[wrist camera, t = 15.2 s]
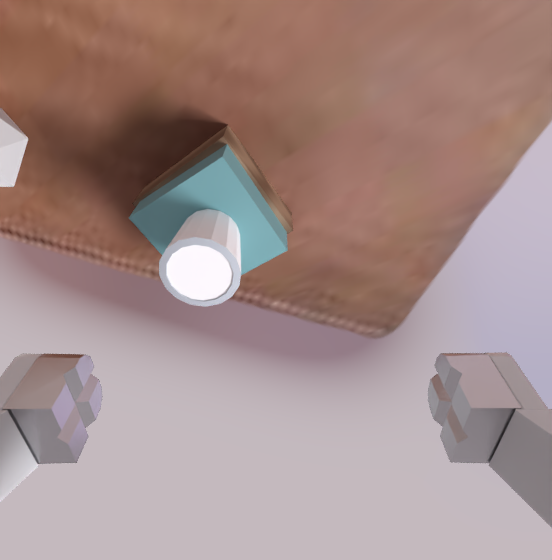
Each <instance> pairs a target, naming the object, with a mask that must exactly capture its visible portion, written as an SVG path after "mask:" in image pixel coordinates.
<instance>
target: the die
mask: <svg viewBox="0 0 552 560" xmlns="http://www.w3.org/2000/svg"><path fill="white" fill-rule="evenodd" d="M27 142H28V137H27V136H26V135H25V134H24V133H23V132H22V131H21V130H20V128H19V127H18V126H17V125H16V124H15V123H14V122H13V121H12V120H11V118H10V117H9V116H8V115H7V114H6V113H5V112H4V111H3V110H2V108H0V187H14V185H15V182H16V178H17V175H18V172H19V169H20V165H21V162H22V159H23V155H24V152H25V149H26V145H27Z"/></svg>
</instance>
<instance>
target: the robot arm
mask: <svg viewBox="0 0 552 560" xmlns="http://www.w3.org/2000/svg"><path fill="white" fill-rule="evenodd" d="M93 368H94V365H93V362H92V360H91V357H90V356H88V355H78V354H77V355H76V354H21V355H19V356H17V357H16V358H15V359H14V360H13V361H12V363H11V364H10V365H9V366H8V368H7V369H6V370H5V372H4V373H3V375H2V376H1V377H0V502H1V501H2V500H3V499H4V498H5V497H6V496H7V495H8V494H9V493H10V492H11V491H12V490H13V489H14V488H16V487H17V485H19V484H20V483H21V482H22V481H23V480H24V479H25V478H26V477H27V476H28V475H29V474H30V473H31V472H32V471H33V470H34V469H36V468H37V467H38V464H45V463H77V461H78V458H79V456H80V454H81V452H82V449H83V447H84V445H85V443H86V441H87V438H88V434H87V431H86V429H85V428H86V427H87V426H88V425H90V424H91V423H92V422H93V421H95V420H96V418H97V415H98V413H99V411H100V407H101V401H102V389H101V384H100V381H99V379H97V378H96V377H95V376H93V375H92V374H91V372H92V370H93ZM435 368H436V370H437V372H438V374H436V375H435V376H434V377H433V378H432V379H431V380H430V384H429V388H428V402H429V406H430V410H431V413H432V416H433V419H434V420H435V421H437V422H438V423H439V424H440V425H441V426H443V428H442V431H441V435H440V437H441V440H442V442H443V445H444V447H445V450H446V452H447V455H448V457H449V460H450V462H461V463H462V462H463V463H489V466H490V467H491V468H492V469H493V470H494V471H495V472H496V473H497V474H498V475H499V476H500V477H501V478H502V479H503V480H504V481H505V482H506V483H507V484H508V485H509V486H510V487H511V488H512V489H513V490H514V491H515V492H516V493H518V495H519V496H521V498H522V499H524V501H525V502H526V503H528V505H529V506H530V507H532V508H533V510H535V511H536V512H537V513H538V514H539V515H540V516H541V517H542V518H543V519H544V520H545V521H546V522H547V523H548V524H549V525H550V526H551V527H552V409H548V408H547V406H546V405H545V404H544V402H543V401H542V399H541V398H540V396H539V395H538V393H537V392H536V390H535V389H534V388H533V386H532V385H531V383H530V382H529V380H528V379H527V377H526V376H525V375H524V373H523V372H522V370H521V369H520V367H519V366H518V364H517V363H516V362H515V360H514V359H513V357H512V356H511V355H510V354H508V353H449V354H446V353H445V354H444V353H443V354H440V355H439V356H438V357H437V359H436V363H435Z"/></svg>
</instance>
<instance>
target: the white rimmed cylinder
mask: <svg viewBox="0 0 552 560" xmlns="http://www.w3.org/2000/svg"><path fill="white" fill-rule="evenodd" d="M159 275H160V277H161V280H162V282H163V284H164V286H165V288H166V289H167V290H168V291H169V292H170V293H171V294H172V295H174V296H175V297H176V298H177V299H180V300H182V301H184V302H186V303H188V304H190V305H198V306H211V305H216V304H220V303H222V302H224V301H225V300H227V299H229V298H230V297H232V296H233V294H234V293H235V291H236V290H237V288H238V287H239V285H240V277H241V248H240V233H239V230H238V227H237V224H236V223H235V222H234V221H233V220H232V218H231V217H230V216H228V215H226V214H225V213H223V212H221V211H218V210H212V209H205V210H200V211H196V212H195V213H194V214H192V215H191V216H189V217H188V218H187V220H186V221H185V222H184V224H183V225H182V227H181V228H180V230H179V231H178V232H177V234H176V235H175V237H174V238H173V240H172V241H171V243H170V244H169V245H168V247H167V248H166V250H165V252H164V254H163V255H162V257H161V259H160V261H159Z"/></svg>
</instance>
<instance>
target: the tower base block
mask: <svg viewBox="0 0 552 560" xmlns="http://www.w3.org/2000/svg"><path fill="white" fill-rule="evenodd" d="M226 144H228V146H229V147H230V149H231V150H232V152H233V153H234V155H235V156H236V158H237V159H238V161H239V162H240V164H241V165H242V167H243V168H244V170H245V171H246V173H247V174H248V176H249V177H250V178H251V180H252V181H253V183H254V184H255V186H256V187H257V189H258V190H259V192H260V193H261V195H262V196H263V198H264V199H265V201H266V202H267V204H268V205H269V207H270V208H271V210H272V211H273V213H274V214H275V215H276V217H277V218H278V220H279V221H280V223H281V224H282V226H283V227H284V229H285V230H286V232H287V234H288V233H290V232H291V231H293V225H292V213H291V212H290V210H289V209H288V207H287V206H286V205H285V203H284V202H283V201H282V199H281V198H280V196H279V195H278V194H277V192H276V191H275V189H274V188H273V187H272V185H271V184H270V182H269V181H268V180H267V178H266V177H265V175H264V174H263V173H262V171H261V170H260V169H259V167H258V166H257V164H256V163H255V162H254V160H253V159H252V157H251V156H250V155H249V153H248V152H247V150H246V149H245V148H244V146H243V145H242V143H241V142H240V141H239V139H238V138H237V137H236V135H235V134H234V132H233V131H232V130H231V128H230V127H229V125H227V126H226V127H224V128H223V129H222V130H220V131H219V132H218V133H216V134H215V135H214V136H212V137H211V138H210V139H208V140H207V141H206V142H204V143H203V144H202V145H200V146H199V147H198V148H196V149H195V150H194V151H192V152H191V153H190V154H188V155H187V156H186V157H184V158H183V159H182V160H180V161H179V162H178V163H176V164H175V165H174V166H172V167H171V168H170V169H168V170H167V171H166V172H164V173H163V174H162V175H160V176H159V177H158V178H156V179H155V180H153V181H152V182H151V183H149V184H148V185H147V186H145V187H144V188H143V190H142V191H141V192H140V194H139V195H138V197H137V198H136V199H135V201H134V202H133V203H132V204H133V205H134V206H135V207H136V206H137V205H138V204H139V202H140V201H141V200H143V199H144V198H146V197H147V196H149V195H150V194H152V193H153V192H155V191H156V190H158V189H159V188H161V187H162V186H164V185H166V184H167V183H169V182H170V181H172V180H173V179H175V178H176V177H178V176H179V175H181V174H182V173H184V172H185V171H187V170H188V169H190V168H191V167H193V166H194V165H196V164H197V163H199V162H200V161H202V160H203V159H205V158H207V157H208V156H210V155H211V154H213V153H214V152H216V151H217V150H219V149H220V148H222V147H223V146H225V145H226Z"/></svg>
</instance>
